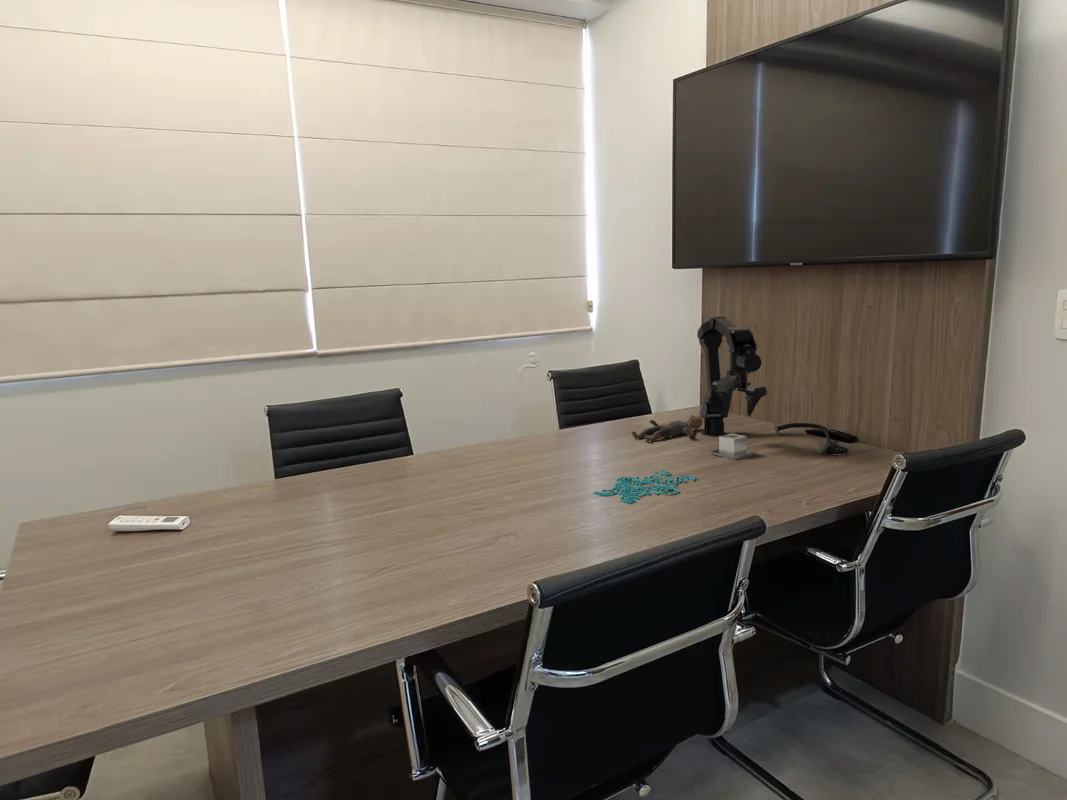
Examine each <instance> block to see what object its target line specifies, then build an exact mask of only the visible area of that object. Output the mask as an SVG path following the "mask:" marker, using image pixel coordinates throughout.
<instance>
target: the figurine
mask: <svg viewBox="0 0 1067 800" xmlns="http://www.w3.org/2000/svg"><path fill="white" fill-rule="evenodd" d="M648 422H649V423H650V424H651V425H653V427H647V428H644V429H643V430H642V431H641V432H640V433H639V434H637V431H631V435H632V437H633V439H634V438H635V439H638V438H641V439H643V438H642V437H644V438H645V440H644V442H645V441H646V442H649V441H652V442H655V441H657V440H660V439H663V438H668V437H669V438H671V437H670V436H673V437H676V436H675V435H677V436H680V435H679V434H681V435H686V434H687V435H686V436H688V438H689V437H690V438H689V439H692V438H693V436H694V430H693V429H695V430H699V429H700V428H701V427H702V426H703V418H702V417H701V416H699V415H697V414H691V415H690V416H687V417H686V419H685V421H682V420H674V421H666V422H663V423H661V424H658V422H656V420H655V419H650V420H649V421H648ZM691 437H692V438H691ZM635 439H634V440H635ZM654 440H655V441H654ZM646 442H645V443H646ZM649 443H650V442H649Z"/></svg>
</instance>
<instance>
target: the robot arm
mask: <svg viewBox="0 0 1067 800" xmlns="http://www.w3.org/2000/svg"><path fill="white" fill-rule="evenodd" d="M723 337H725V338H726V339H725V342H726V344H727V345H728V347H729V349H728V352H729V356H730V357H729V370H727V371H726V376H723V377H722V378H721V368H720V367H721V365H720V354H719V348H721V347H720V346H721V345H722V343H723ZM697 339H698V342H699V345H700V347H701V348H702V349H703V351H704V358H705V360H704V361H705V371H706V383H707V384H706V385H707V391H706V393H705V395H704V397H703V404H702V406H701V408H700V410H699V412H700V413H699V414H700V417H701V418H702V419H703V420H704V427H703V428H704V431H701V432H700V433H701V434H702V435H706V436H707V435H708V436H711V437H717V436H718V437H719V436H723V435H727V432H726V431H725V422H724V418H725V419H727V418H728V415H729V411H730V408H731V402H732V396H733V391H736V392H737V391H738V392H743V393H744V394H745V395H746V396H744V399H745V400H746V402H747V403H746V409H747V410H746V412H747V417H750V416H752V414H753V412H754V410H755V408H756V406H757V405H758V402H759V401H760V400H761V398H764V396H767V394H768V393H767V392H768V390H767V388H766V386H764V385H758V384H755V385H751V382H750V381H749V374H751V373H754V372H756V371H758V370H760V368H761V366H762V363H763V362H762V359H761V356H759V354H757V353H756V351H758V349H757V346H758V345H757V342H756V340H755V338H754V334H753V332H752V331H751V330H750V328H746V327H738V326H737V325H736V324H734V323H732V322H731V321H729V320H728V319H727V318H726V316H722V315H721V316H720V315H719V316H712V317H710V318H709V319H708V321H705V322H704V323H702V324H701V325H700V327H699V328H698V330H697Z"/></svg>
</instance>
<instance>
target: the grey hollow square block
mask: <svg viewBox="0 0 1067 800" xmlns="http://www.w3.org/2000/svg"><path fill="white" fill-rule="evenodd" d="M747 437H748V436H746V435H741V434H736V433H728V434H727V433H726V434H722V435H718V438H719V441H718V442H719V443H718V447H719V448H718V449H719V451H720V452H724V453H728V454H733V455H735V454H739V453H743V452H747V450H748V448H747V446H748V445H747V443H748V438H747Z"/></svg>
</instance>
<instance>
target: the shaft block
mask: <svg viewBox="0 0 1067 800" xmlns="http://www.w3.org/2000/svg"><path fill="white" fill-rule="evenodd" d="M709 454H710V455H711V454H713V455H712V456H715V455H717V456H716V457H719V456H721V457H720V458H723V457H725V458H724V459H728V458H729V459H728V460H732V459H733V460H732V461H737V459H738V460H741V459H745V458H749V457H753V456H755V455H756V454H757V452H756V451H754V450H751V449H750V450H749V449H747V452H743V453H739V454H735V455H733V454H728V453H724V452H720V451H719V448H718V449H714V450H710V451H709ZM752 455H753V456H752ZM748 456H749V457H748Z"/></svg>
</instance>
